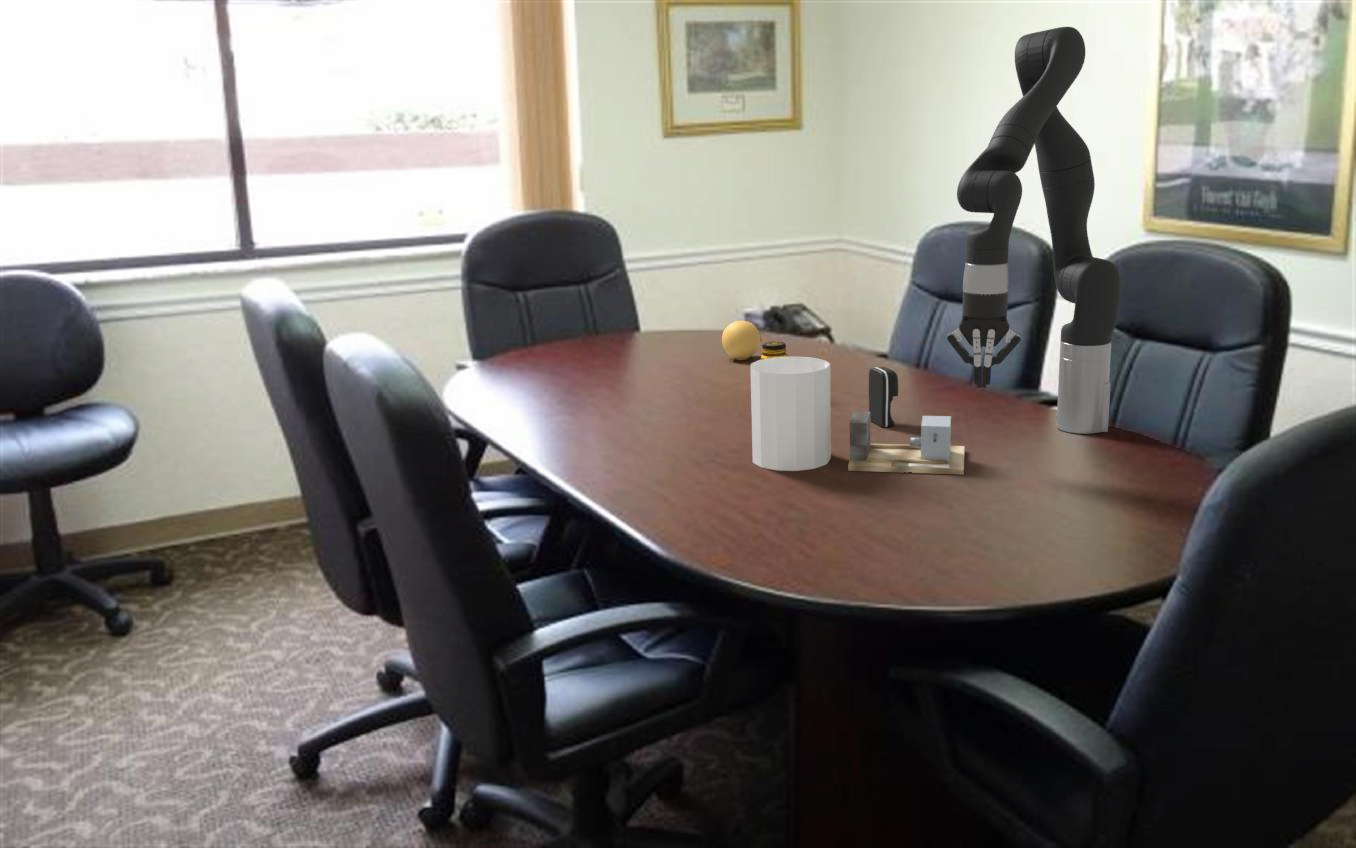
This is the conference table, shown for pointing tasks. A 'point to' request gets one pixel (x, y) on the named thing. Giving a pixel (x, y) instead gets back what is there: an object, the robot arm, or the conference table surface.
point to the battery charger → (882, 395)
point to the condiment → (773, 349)
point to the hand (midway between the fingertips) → (981, 386)
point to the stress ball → (741, 339)
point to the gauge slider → (934, 438)
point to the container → (791, 413)
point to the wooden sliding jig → (894, 453)
